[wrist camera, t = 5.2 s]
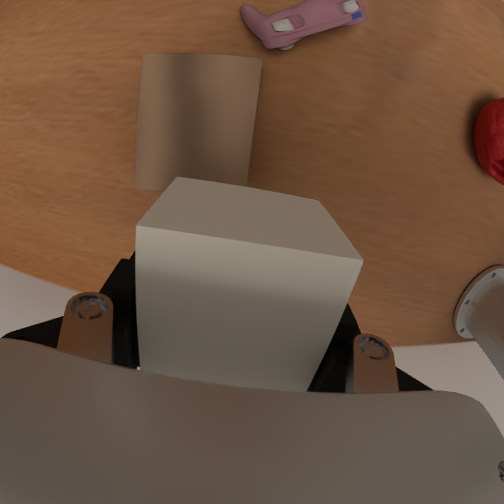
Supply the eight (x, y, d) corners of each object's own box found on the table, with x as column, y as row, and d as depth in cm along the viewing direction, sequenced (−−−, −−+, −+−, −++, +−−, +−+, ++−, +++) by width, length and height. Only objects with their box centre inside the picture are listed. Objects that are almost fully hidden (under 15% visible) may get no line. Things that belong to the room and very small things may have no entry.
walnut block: (259, 67, 23) (263, 58, 19) (245, 183, 28) (245, 198, 24) (160, 62, 23) (143, 54, 18) (151, 175, 28) (134, 189, 23)
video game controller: (253, 46, 24) (274, 64, 19) (233, 6, 20) (249, 12, 16) (344, 15, 22) (384, 28, 17) (330, -24, 18) (371, -21, 14)
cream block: (318, 200, 11) (363, 260, 7) (275, 346, 14) (286, 429, 10) (177, 176, 10) (136, 224, 6) (166, 332, 13) (145, 413, 9)
